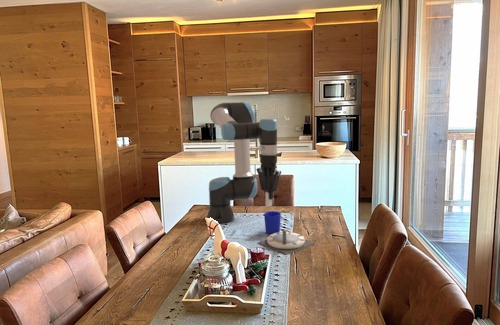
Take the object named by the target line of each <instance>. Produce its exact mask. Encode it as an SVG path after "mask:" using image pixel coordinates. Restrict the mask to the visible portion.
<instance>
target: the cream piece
mask: <svg viewBox="0 0 500 325" xmlns="http://www.w3.org/2000/svg"><path fill="white" fill-rule="evenodd" d="M286 230H287V229H283V230H282V232H281V231H279V233H278V232H276V233H274V234H271V235H270V234H268V235H267V243H268V244H269V245H270V246H272V247H275V248H279V249H295V248H299V247H301V246H303V245H304V244H305V240H306V238H305V236H304V235H302V234H301V233H300V234H299V233H297V232H292V231H288V232H286Z"/></svg>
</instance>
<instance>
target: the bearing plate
mask: <svg viewBox="0 0 500 325" xmlns="http://www.w3.org/2000/svg"><path fill="white" fill-rule="evenodd" d="M285 230H286V232H289V231H288V229H285ZM257 243H258V244H259V245H261V246H263V245H264V247H266V248H268V247H269V249H271V250H273V249H274V251H276V252H278V253H281V254H283V253H284V255H286V254H287V255H289V254H291V253H294V252H297V251H299V250H302V249H303V250H304V249H305V248H308V247H310V246H314V245H315V243H314V242H313V241H310V240H308V239H307V240H306V239H305V244H304V245H303V246H301V247H299V248H295V249H279V248H275V247H272V246H270V245H269V244H268V243H267V239H263V240H260V241H258V242H257Z"/></svg>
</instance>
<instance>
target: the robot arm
mask: <svg viewBox="0 0 500 325" xmlns="http://www.w3.org/2000/svg"><path fill="white" fill-rule="evenodd" d="M209 115H210V120H211V121H212V123H213V124H215V125H216V126H218V127H219V128H220V133H221V138H222V139H223V140H224V141H233V142H234V143H233V144H234V145H233V146H234V147H233V148H234V150H233V151H234V170H235V172H234V174H233V175H232V179H231V178H230V177H229V176H222V177H221V176H220V177H216V178H212V179H211V180H210V181H209V182H208V192H209V193H208V194H209V196H208V198H209V202H208V203H209V208H208V212H207V214H206V219H207V218H210V217H211V218H213V219H214V220H216V221H218V222H219V223H218V224H226V223H230V222H233V221H234V220H235V216H234V212H233V208H232V206H231V202H232V201H238V200H239V201H240V200H250V199H254V198H255V197H256V196H257V193H258V180H259V186H260V190H262V191H263V192H264V199H265V207H266V208H267V207H268V208H270V207H273V199H274V192H277V190H278V185H279V180H280V176H281V174H282V170H279V169H278V166H277V163H278V121H277V119H276V118H261V119H260V120H259V121H257V122H255V117H256V116H255V110H254V107H253V105H252V104H251V103H250V102H241V101H240V102H221V103H218V104H217V105H215V106H214V107H213V108H212V109H211V111H210V113H209ZM250 140H259V153H260V155H259V162H260V167H257V168H256V172H257V174H258V175H257V176H258V180H257V178H256V177H254V174H253V173H252V172H251V171H252V170H251V152H250V151H251V148H250Z"/></svg>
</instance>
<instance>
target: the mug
mask: <svg viewBox="0 0 500 325" xmlns="http://www.w3.org/2000/svg"><path fill="white" fill-rule="evenodd" d="M263 216H264V217H263V218H264V227H265V232H266V233H265V234H267V235H271V234H274V233H276V232H278V233H279V232H281V231H280V230H281V229H280V228H281V218H282V214H281V212H278V211H274V210H273V211H266V212H265V213H264V214H263Z"/></svg>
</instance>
